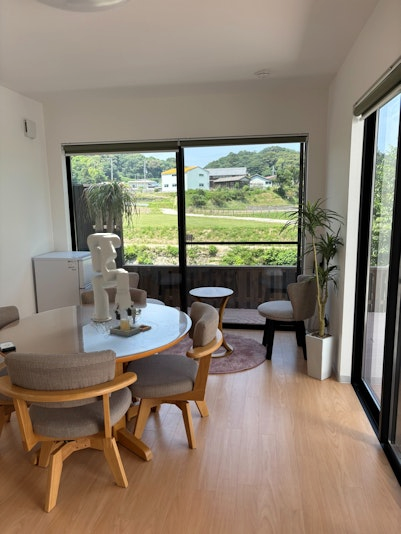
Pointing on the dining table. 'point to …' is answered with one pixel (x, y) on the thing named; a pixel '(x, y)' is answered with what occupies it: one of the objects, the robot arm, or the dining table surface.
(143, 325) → the brown flat square frame
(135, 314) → the mechanical component
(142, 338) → the dining table surface
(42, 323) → the dining table surface
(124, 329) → the block
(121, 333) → the parts tray
